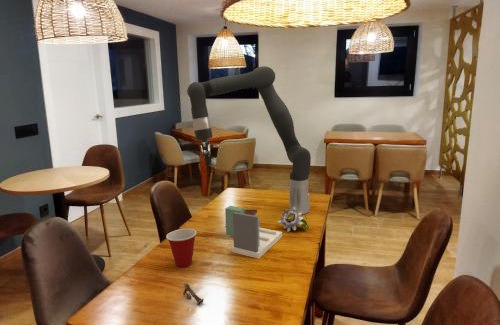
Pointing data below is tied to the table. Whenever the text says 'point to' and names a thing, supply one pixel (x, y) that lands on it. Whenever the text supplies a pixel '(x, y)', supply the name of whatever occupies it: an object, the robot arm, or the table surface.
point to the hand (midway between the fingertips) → (209, 164)
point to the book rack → (252, 236)
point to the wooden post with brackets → (187, 288)
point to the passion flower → (293, 219)
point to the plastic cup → (182, 246)
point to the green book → (231, 218)
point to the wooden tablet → (250, 212)
